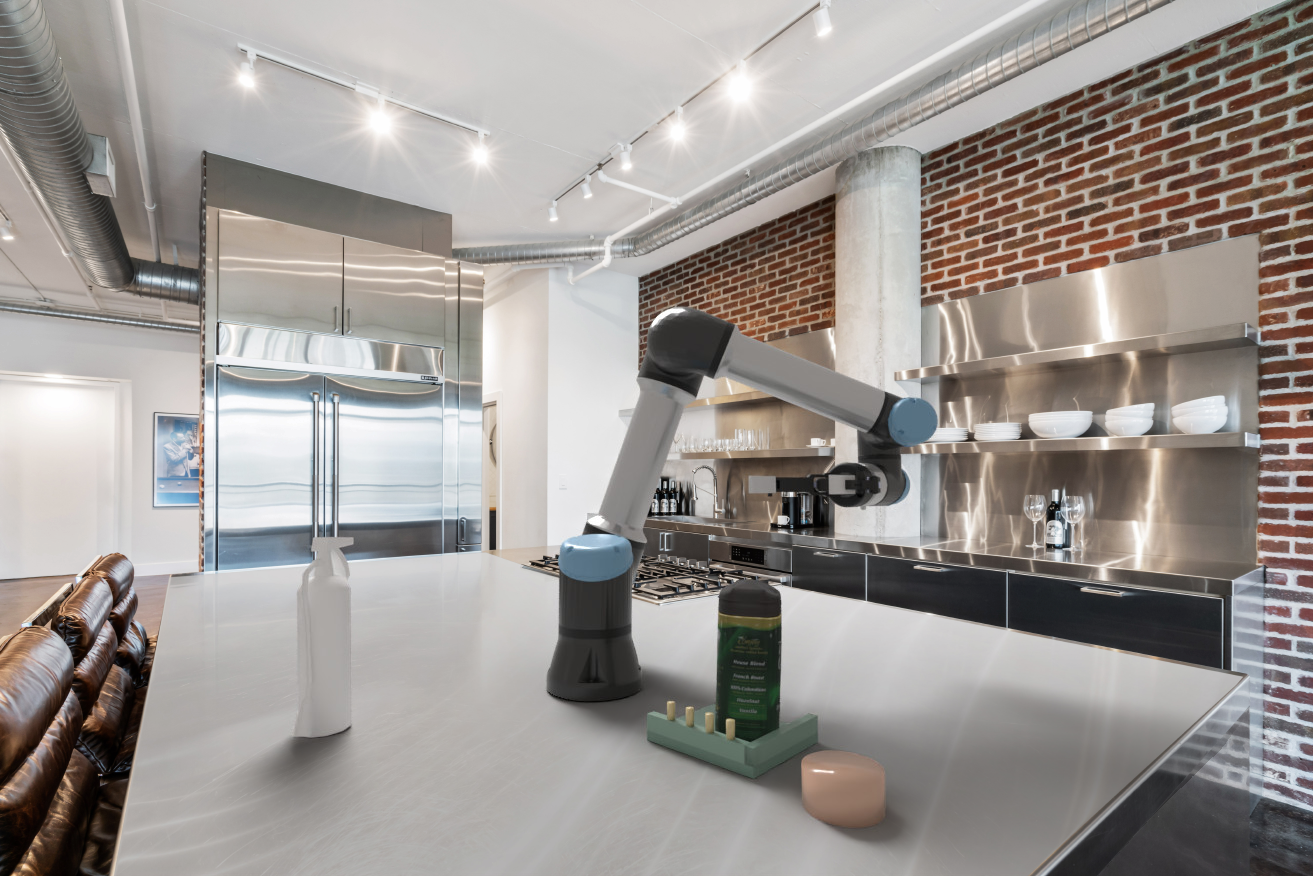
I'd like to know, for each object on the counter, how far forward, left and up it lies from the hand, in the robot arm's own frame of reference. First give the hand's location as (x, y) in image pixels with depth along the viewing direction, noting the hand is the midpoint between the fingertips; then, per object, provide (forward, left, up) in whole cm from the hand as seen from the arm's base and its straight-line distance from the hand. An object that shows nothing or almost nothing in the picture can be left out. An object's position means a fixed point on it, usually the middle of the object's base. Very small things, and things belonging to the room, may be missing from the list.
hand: (788, 484), depth 96 cm
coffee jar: (+3, -15, -31) cm, 35 cm away
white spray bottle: (-40, -50, -32) cm, 71 cm away
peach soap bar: (+19, -22, -32) cm, 43 cm away
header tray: (+1, -16, -32) cm, 36 cm away
